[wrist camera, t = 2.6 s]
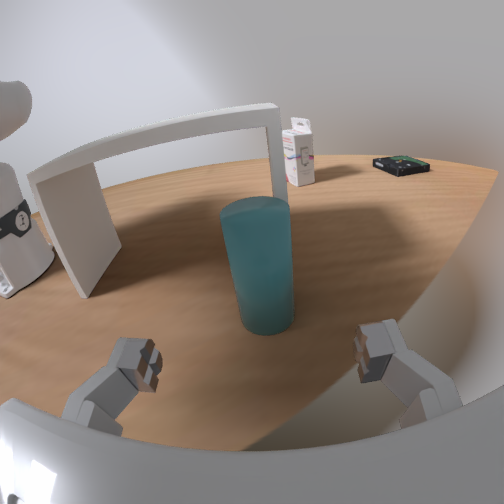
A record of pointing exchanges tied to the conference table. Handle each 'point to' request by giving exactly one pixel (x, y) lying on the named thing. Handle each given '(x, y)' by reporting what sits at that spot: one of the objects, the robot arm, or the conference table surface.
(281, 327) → the teal cylinder
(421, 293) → the conference table surface
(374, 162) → the disk drive
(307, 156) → the ink cartridge box
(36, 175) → the arch
